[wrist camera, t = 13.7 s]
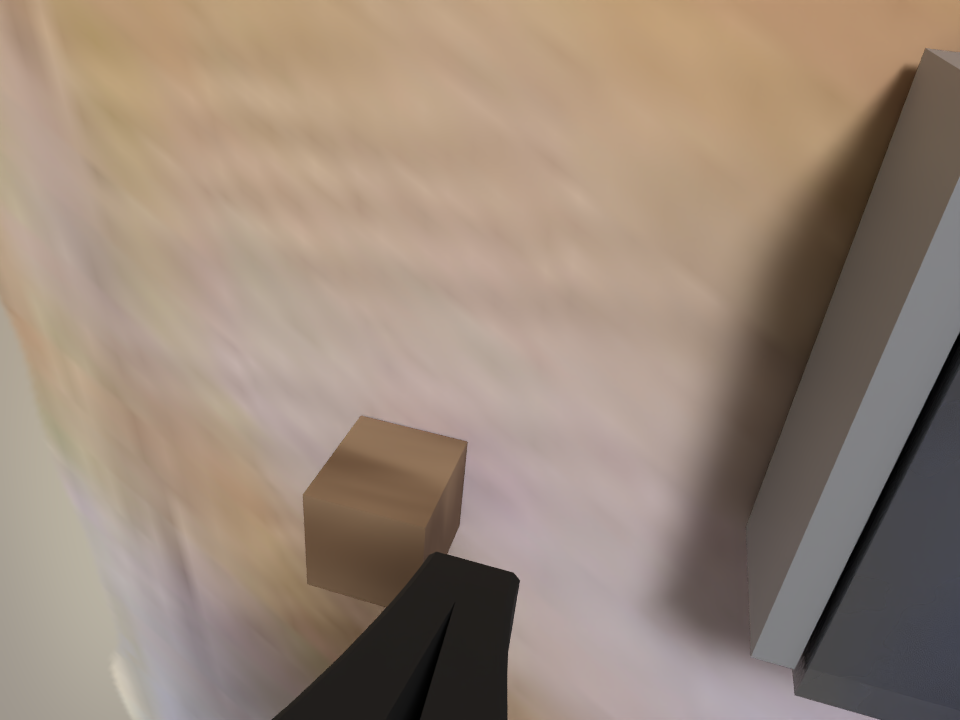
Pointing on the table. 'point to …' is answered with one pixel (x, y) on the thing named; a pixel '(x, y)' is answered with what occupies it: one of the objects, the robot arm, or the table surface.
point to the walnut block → (382, 509)
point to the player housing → (900, 585)
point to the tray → (863, 371)
